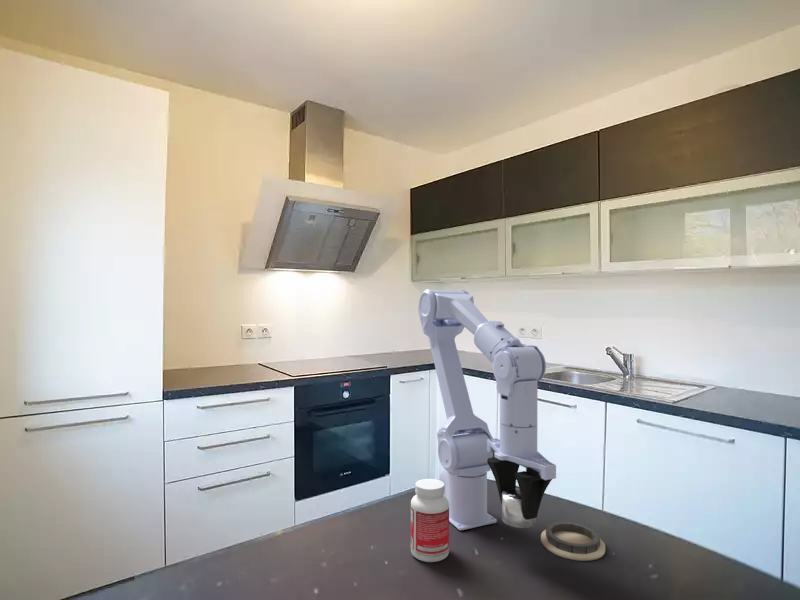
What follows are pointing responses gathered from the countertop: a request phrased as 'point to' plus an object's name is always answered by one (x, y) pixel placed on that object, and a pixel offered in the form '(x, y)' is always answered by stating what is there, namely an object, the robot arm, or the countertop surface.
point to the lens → (514, 509)
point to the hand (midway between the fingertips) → (518, 510)
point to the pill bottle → (430, 521)
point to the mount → (573, 541)
